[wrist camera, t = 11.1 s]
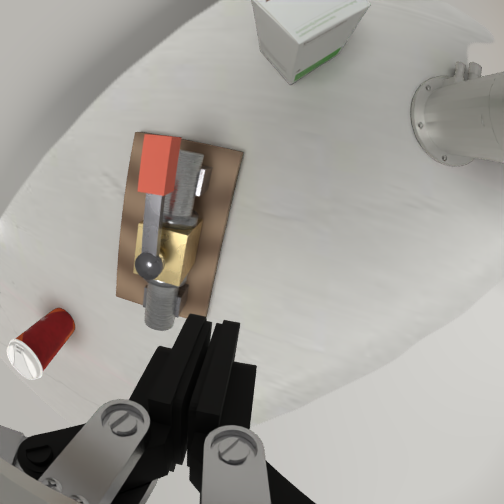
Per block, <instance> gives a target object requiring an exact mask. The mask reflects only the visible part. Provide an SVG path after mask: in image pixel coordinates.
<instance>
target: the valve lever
mask: <svg viewBox="0 0 504 504" xmlns="http://www.w3.org/2000/svg"><path fill="white" fill-rule="evenodd" d="M180 144H181V137H173V136H164V135H153V134H145V135H144V141H143V149H142V156H141V164H140V172H139V182H138V191H137V192H143V193H146V199H145V209H144V221H143V234H142V251H141V254H140V255H139V256H138V257H137V258H136V260H135V269H136V271H137V273H138V274H139V275H140V276H141V277H142V278H144V279H147V280H153V279H155V278H157V277H158V275H159V274H160V273H161V272H162V271H163V269H164V267H165V260H164V257H163V255H162V254H161V253H160V243H161V232H162V222H163V212H164V203H165V195H167V194H169V193H171V192H173V191H174V186H175V178H176V171H177V164H178V157H179V151H180Z"/></svg>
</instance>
